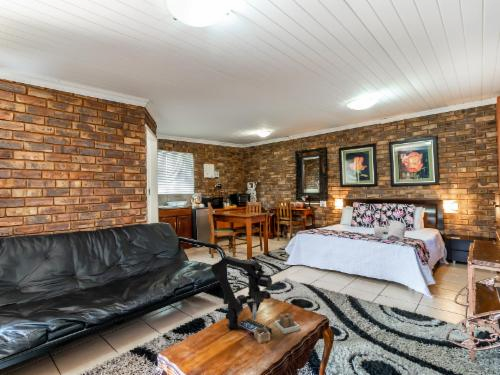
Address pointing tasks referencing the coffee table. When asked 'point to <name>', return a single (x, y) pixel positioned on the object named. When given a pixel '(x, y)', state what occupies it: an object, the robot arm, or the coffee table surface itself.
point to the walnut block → (286, 320)
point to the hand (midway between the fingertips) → (254, 312)
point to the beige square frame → (262, 335)
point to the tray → (286, 330)
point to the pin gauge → (254, 310)
